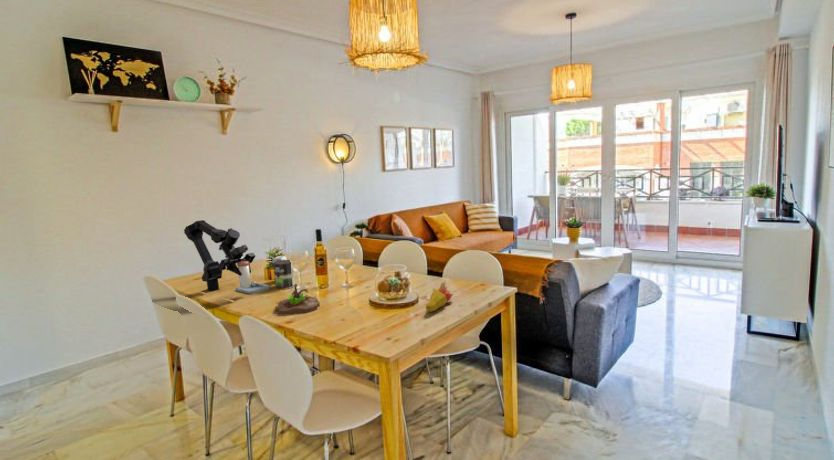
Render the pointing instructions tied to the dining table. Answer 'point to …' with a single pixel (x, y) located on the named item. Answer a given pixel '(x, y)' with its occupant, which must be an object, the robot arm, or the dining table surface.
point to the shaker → (244, 274)
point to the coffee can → (283, 274)
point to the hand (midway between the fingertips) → (245, 273)
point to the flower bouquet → (439, 297)
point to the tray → (254, 288)
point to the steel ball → (254, 283)
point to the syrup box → (279, 258)
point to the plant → (297, 303)
